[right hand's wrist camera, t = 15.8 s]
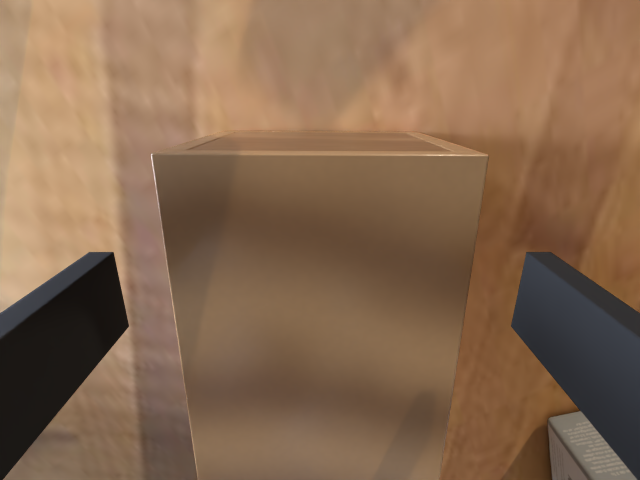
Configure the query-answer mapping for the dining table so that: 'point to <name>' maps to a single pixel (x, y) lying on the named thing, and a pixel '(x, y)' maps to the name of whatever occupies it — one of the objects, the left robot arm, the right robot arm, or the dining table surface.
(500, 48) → the dining table surface
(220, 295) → the cabinet
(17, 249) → the dining table surface
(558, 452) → the hard drive box
